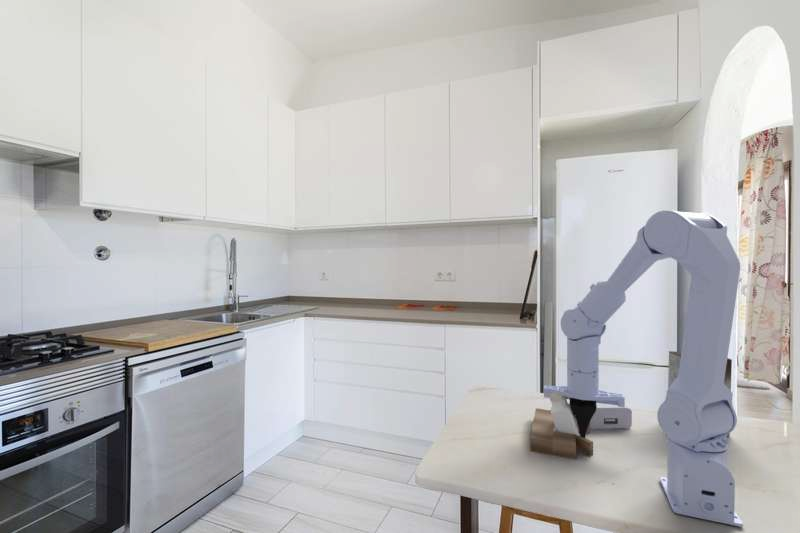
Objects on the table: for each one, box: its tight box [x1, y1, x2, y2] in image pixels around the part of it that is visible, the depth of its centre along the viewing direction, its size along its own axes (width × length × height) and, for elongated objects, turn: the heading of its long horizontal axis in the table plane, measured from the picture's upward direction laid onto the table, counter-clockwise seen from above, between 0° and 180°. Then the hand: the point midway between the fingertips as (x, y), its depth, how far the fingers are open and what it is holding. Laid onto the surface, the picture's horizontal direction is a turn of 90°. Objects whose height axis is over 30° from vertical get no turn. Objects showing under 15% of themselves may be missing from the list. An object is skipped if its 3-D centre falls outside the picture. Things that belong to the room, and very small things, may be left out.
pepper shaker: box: [548, 388, 580, 436], centre depth 79 cm, size 4×4×10 cm
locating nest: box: [529, 408, 594, 460], centre depth 79 cm, size 16×11×2 cm
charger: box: [590, 403, 633, 430], centre depth 91 cm, size 5×9×15 cm
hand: (582, 436), depth 78 cm, fingers closed
